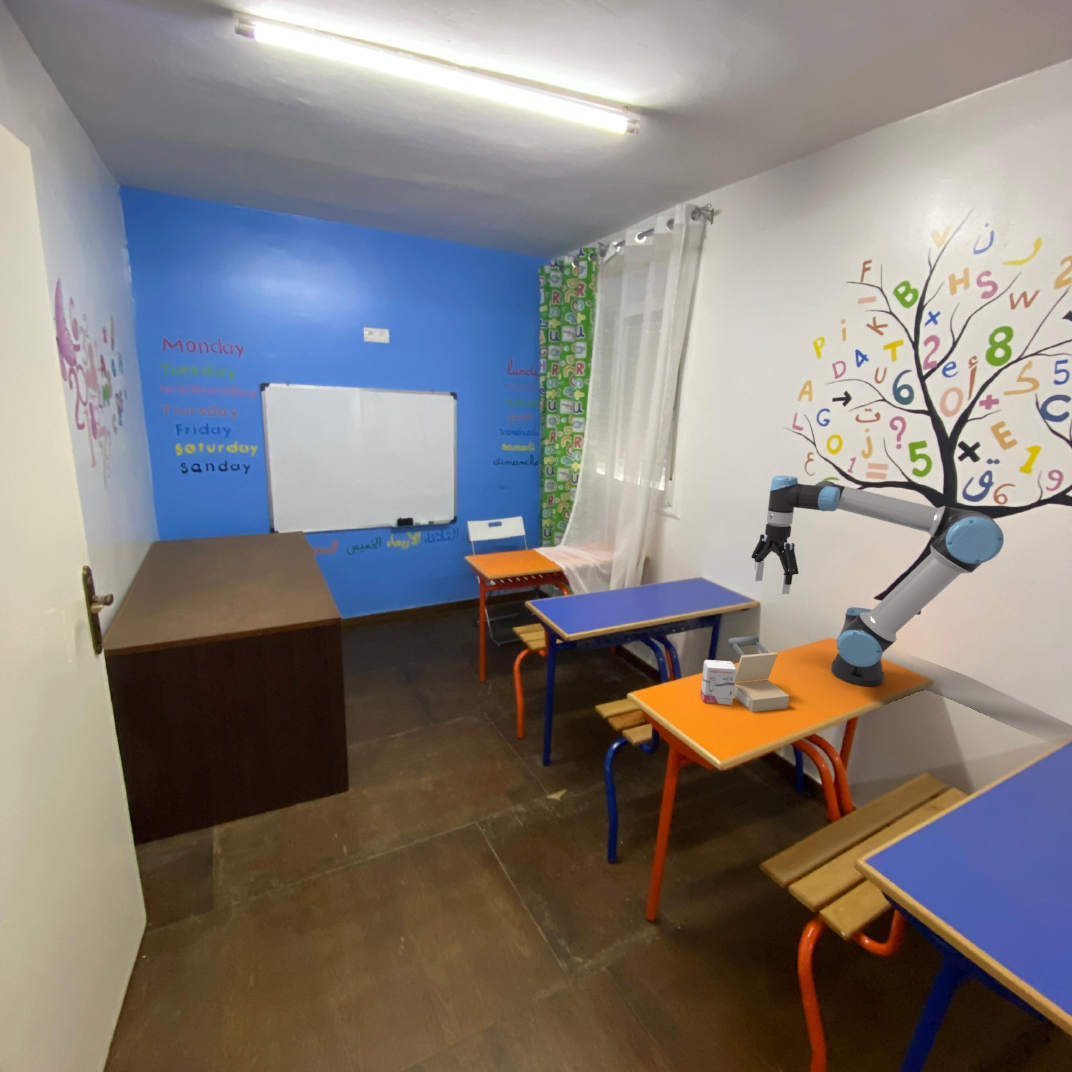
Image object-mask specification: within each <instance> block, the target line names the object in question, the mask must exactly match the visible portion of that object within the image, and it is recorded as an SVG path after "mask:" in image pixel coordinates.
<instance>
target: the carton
mask: <svg viewBox="0 0 1072 1072" xmlns="http://www.w3.org/2000/svg"><path fill="white" fill-rule="evenodd" d="M733 698H735V699H736V700H737V701H738V702H739V703H740V704H741V705H743V706H744V707H745V708H746V709H747V710H748V711H750V712H751V713H755V712H757V713H758V712H764V711H773V710H774V711H775V710H781V709H788V707H789V701H790V695H789V694H787V693H786V691H783V690H782V689H781V688H780V687H778V686H777V685H775V684H774V683H772V681H770V680H769V679H763V680H754V681H745V682H735V686H734V694H733Z"/></svg>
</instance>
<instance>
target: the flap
mask: <svg viewBox="0 0 1072 1072" xmlns="http://www.w3.org/2000/svg"><path fill="white" fill-rule="evenodd" d="M727 641H728V643H727V644H728V646H729V647H730V648H733V649H734V650H735V651H736V652H737V654H738V655H739V656H740V658H739V662H738V664H737V667H736V677H735V683H740V682H749V681H758V680H769V678H770V676H771V673H772V670H773V667H774V665H775V662H776V659H777V658H778V653H777V652H769V651H768V650H767V649H766V648H765V647H764V646H763V645H762V643H761V641H760V639H759V637H758V636H756V635H752V636H749V635H748V636H740V637H739V636H738V637H737V636H736V637H729V638H728V640H727ZM747 646H756V647H757V648H758V649H759V650H760V652H761V653H757V654H755V653H754V654H745V653H744V651H743V650H742V649H741V648H740V647H747Z"/></svg>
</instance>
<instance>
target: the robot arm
mask: <svg viewBox="0 0 1072 1072" xmlns="http://www.w3.org/2000/svg"><path fill="white" fill-rule="evenodd" d="M770 484H771V485H770V489H769V498H768V506H767V507H768V508H767V514H766V515H767V517H766V522H767V523H766V525H765V532H764V534H760V535H759V540H758V543H757V544H756V546H755V548H754V550H753V552H752V554H751V559H754V562H755V565H754V576H753V581H754V582H762V581H763V578H764V577H763V576H764V569H765V559H766V558H767V556H769V554H770V553H771V552H772V553H774V554H776V556H778V558H779V561H780V563H781V566H782V569H783V573H782V576H781V585H780V594H781V595H788V594H789V595H790V590H791V585H792V583H793V582H792V581H793V576H794V575H799V568H798V562H797V558H796V551H795V546H796V545H795V543H794V542H788V539H789V538H790V537H791V534H792V526H791V525H792V524H793V518H794V513H795V512H794V510H795V508H796V509H804V510H805V509H807V510H814V511H821V512H835V511H837V510H842V511H845V512H849V513H852V514H856V515H861V516H863V517H867V518H872V519H875V520H879V521H883V522H887V523H891V524H894V525H899V526H902V527H906V528H909V529H913V530H918V531H920V532H921V531H922V532H925V533H928V534H929V536H930V537H931V538H935V540H934V541H933V542H932V543H931V544H930V554H929V555H928V556H926V558H924V559H923V560H922V561H921V562H920V563H919V564H918V565H917V566H916V567H915V568H914V569H913V570H912V571H911V572H910V573H909V574H908V575H907V576H906V577H904V579H903V580H902V581H900V582H899V583H898V584H897V585H896V586H895V587H894V588H893V589H892V590H891V591H890V592H889V593H888V594H887V595H886V596H885V597H884V598H883V599H881V601H880V602H879V603H878V604H877V605H876V606H874V608H873V609H870V608H864V607H858V606H857V607H853V606H852V607H848V608H847V609H846V612H845V618H844V624H843V627H842V629H841V631H840V633H839V636H837V639H836V649H837V652H838V653H837V654H836V656H835V658H834V660H833V661H832V662H831V667H830V671H831V673H832V675H834V676H835V677H837V678H838V679H841V680H842V681H845V682H847V683H849V684H850V683H851V684H854V685H858V686H864V687H877V686H881V685H882V684H883V683H884V678H885V673H884V671H883V663H882V656H883V653H884V652H886V651H887V650H888V648H890V647H891V646H892V645H893V644H894V643H896V641H897V633H898V632H899V631H900V630H901V629H902V628H903V627H904V626H905V625H906V624H908V622H909V621H911V619H913V618H914V617H915V616H916V615H917V614H918V613H920V612H921V610H923V609H924V608H925V607H926V606H928V604H929V603H930V602H931V601H933V600H934V599H935V598H936V597H937V596H938V595H939V594H940V593H941V592H942V591H944V589H946V588H947V587H948V586H950V585H951V583H952V582H954V580H956V579H957V578H958V577H959V576H960V575H962V574H972V573H973V572H974V571H975V570H976V569H978V567H981V565H982V564H983V563H986V562H988V561H991V560H992V559H994V558H995V557H996V556H997V555H999V553H1000V552H1001V551H1002V548H1003V545H1004V540H1005V539H1004V533H1003V531H1002V529H1001V527H1000V525H998V523H997V522H996V521H995V520H994V518H992V517H991V516H990V515H987V514H985V513H983V512H979V511H976V510H975V511H974V510H968V509H962V508H955V507H952V506H950V507H949V506H946V505H943V506H941V507H935V506H930V505H925V504H921V503H917V502H913V501H910V500H904V499H901V498H896V497H891V496H888V495H885V494H879V493H875V492H871V491H867V490H863V489H858V488H853V487H849V486H845V485H841V484H838V483H837V484H836V483H834V482H833V481H829V480H822V481H818V482H817V483H815V484H802V483H799V479H798V477H796V476H790V475H775V476H773V477H772V480H771V483H770Z"/></svg>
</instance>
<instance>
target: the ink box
mask: <svg viewBox="0 0 1072 1072" xmlns="http://www.w3.org/2000/svg"><path fill="white" fill-rule="evenodd" d="M736 669H737V667H736V666H735V664H734V662H733V661H729V660H728V661H727V660H717V659H716V660H715V659H713V660H712V659H705V660H703V667H702V678H701V686H700V687H701V688H700V699H701V700H702V703H704V704H713V705H731V706H732V705H733V702H734V696H733V694H734V686H735V683H736V682H735V677H736Z"/></svg>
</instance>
